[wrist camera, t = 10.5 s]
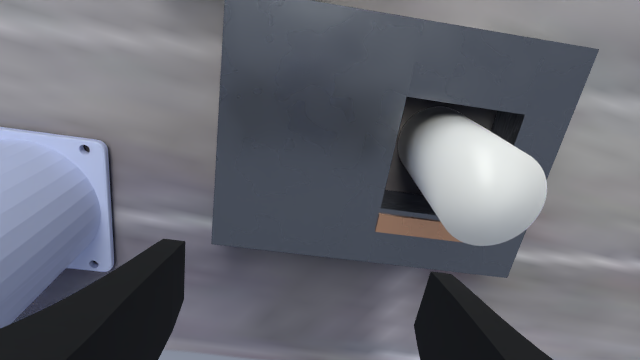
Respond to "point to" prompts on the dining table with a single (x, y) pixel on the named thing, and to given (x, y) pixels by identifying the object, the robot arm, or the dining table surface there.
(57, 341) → the robot arm
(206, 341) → the dining table surface
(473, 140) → the barrel peg
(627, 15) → the dining table surface
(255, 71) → the hole plate
